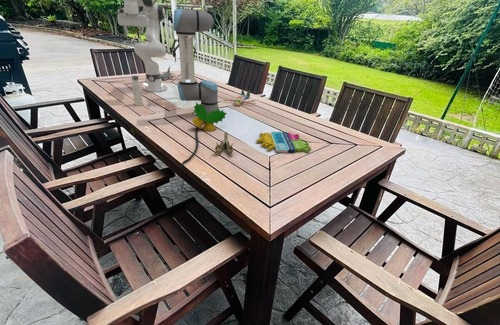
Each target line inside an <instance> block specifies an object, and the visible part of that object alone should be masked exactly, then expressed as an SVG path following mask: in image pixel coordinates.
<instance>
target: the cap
mask: <svg viewBox="0 0 500 325" xmlns="http://www.w3.org/2000/svg"><path fill="white" fill-rule="evenodd" d="M131 80H132V81H133V80H138V81H139V75H136V74H135V75H131Z"/></svg>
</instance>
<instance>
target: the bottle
mask: <svg viewBox="0 0 500 325" xmlns="http://www.w3.org/2000/svg"><path fill="white" fill-rule="evenodd" d="M131 88H132V94H133V101H134V106H136V107H137V106H138V107H140V106H144V101H143V95H142V88H141V83H140V81H139V79H138V80H132V83H131Z"/></svg>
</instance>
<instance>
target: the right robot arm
mask: <svg viewBox="0 0 500 325" xmlns="http://www.w3.org/2000/svg"><path fill="white" fill-rule="evenodd" d="M172 20H173V22H172V23H173V24H172V30H173V31H174V32H175V35H176V37H177V39H176V38H174V39H173V43H172V46H171V48H170V53H172V57H173V58H174V62H177V57H176V56H177V54H176V52H177V50H179V63H180V79H178V82H176V86H177V90H178V91H177V92H178V95H179V99H180V100H181V101H183V102H184V101H185V102H192V101H193V102H194V101H195V102H196V101H198V102H199V101H200V104H201V106H204V109H206V112H208V113H211V112H212V110H214V111H216V110H217V109H219V111H221V110H220V108H219V102H218V99H219V98H218V97H219V94H218V93H219V88H218V84H217V83H216V82H215V81H213V80H207V79H206V80H205V79H202V80H200V81H199V82H198V80H197V79H196V77H195V76H196V75H195V54H196V53H197V50H196V48H195V46H194V38H195V37H196V33H203V32H207V31H210V30H211V29H212V28H213V26H214V22H215V20H214V17H213V15H212V14H210V13H209V12H207V11H205V10H201V9H188V8H175V9H174V10H173V19H172ZM176 43H178V44H177V45H176ZM208 113H207V115H208ZM203 125H205V121H204V123H203ZM195 127H196V128H195V132H194V133H195V140H196V141H195V142H196V144H195V149H194V151H193V152H192V154H191V155H190V156H189V157H188V158H187V159H184V160H183V161H182V162H181V164H180V166H179V168H180V169H182V168H183V166H184V164H185V163H187V162H189V161H190V160H191V159H192V158H193V157H194V155H195V154H196V152H197V150H198V148H199V138H198V129H199V128H198V127H197V126H195Z"/></svg>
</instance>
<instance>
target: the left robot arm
mask: <svg viewBox="0 0 500 325" xmlns="http://www.w3.org/2000/svg"><path fill="white" fill-rule="evenodd" d="M123 2H124V3H123V7H122V8H118V9H117V13H118V14H117V24H118V25H119V26H122V27H123V28H124V29H125V31H126V34H130V33H131V31H130V30H129V29H128V27H140V28H141V30H140V31H139V33H140V35H144V37H145V38H144V39H145V40H146V41H147V42H143V41H141V42H135V44H134V45H133V51H134V53H135V55H136V56H138V57H139V58H140V60H142V62H143V65H144V68H145V79H144V82H143V85H144V88H143V90H144V91H147V92H150V93H159V92H164V91H166V89H167V86H166V85H165V84H164V81H163V80H162V79H161V76H160V74H161V72H160V67H159V66H160V65H159V63H157V61H154V60H153V59H152V58H164V57H165V56H166V54H167V48H166V47H165V45H164V44H163V43H162V42H161V41H160V32H161V31H160V30H161V28H160V27H161V26H160V22H162V21H163V20H164V19H165V18H166V9H165V8H164V5H161V4H156V0H123ZM144 30H145V33H144Z"/></svg>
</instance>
